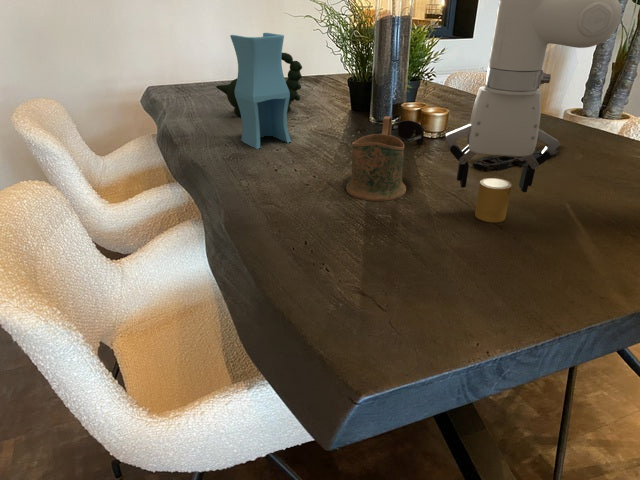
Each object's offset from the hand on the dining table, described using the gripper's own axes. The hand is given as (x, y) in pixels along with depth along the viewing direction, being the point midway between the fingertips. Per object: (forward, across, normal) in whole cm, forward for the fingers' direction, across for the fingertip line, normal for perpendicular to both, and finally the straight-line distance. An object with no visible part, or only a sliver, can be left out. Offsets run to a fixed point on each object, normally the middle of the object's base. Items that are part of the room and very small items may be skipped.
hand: (492, 187), depth 81 cm
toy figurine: (+6, +60, -64) cm, 88 cm away
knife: (+5, -10, -32) cm, 34 cm away
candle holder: (+5, 0, 0) cm, 5 cm away
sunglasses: (+6, +18, -39) cm, 43 cm away
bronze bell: (+6, +20, -12) cm, 24 cm away
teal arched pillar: (+6, +50, -37) cm, 63 cm away
